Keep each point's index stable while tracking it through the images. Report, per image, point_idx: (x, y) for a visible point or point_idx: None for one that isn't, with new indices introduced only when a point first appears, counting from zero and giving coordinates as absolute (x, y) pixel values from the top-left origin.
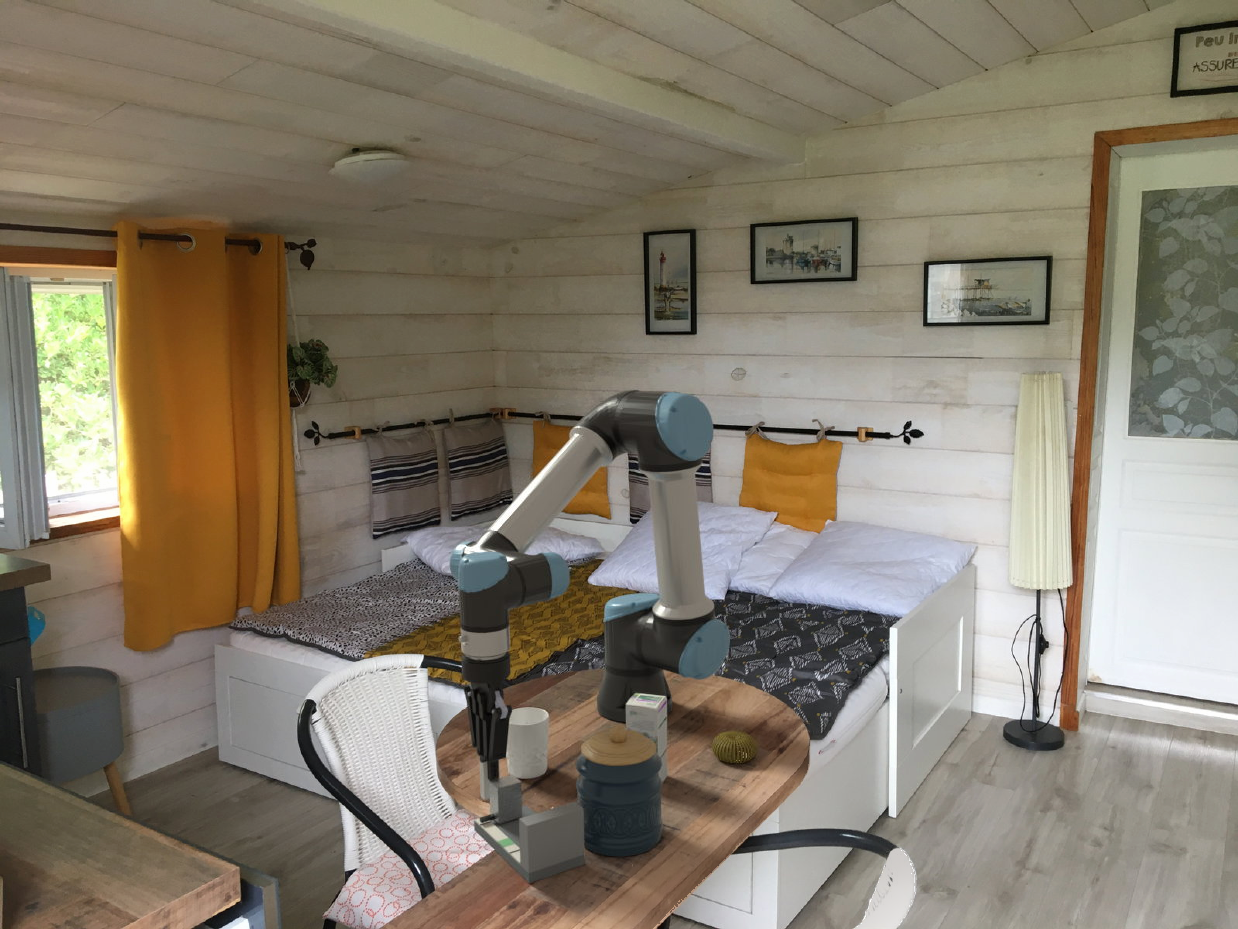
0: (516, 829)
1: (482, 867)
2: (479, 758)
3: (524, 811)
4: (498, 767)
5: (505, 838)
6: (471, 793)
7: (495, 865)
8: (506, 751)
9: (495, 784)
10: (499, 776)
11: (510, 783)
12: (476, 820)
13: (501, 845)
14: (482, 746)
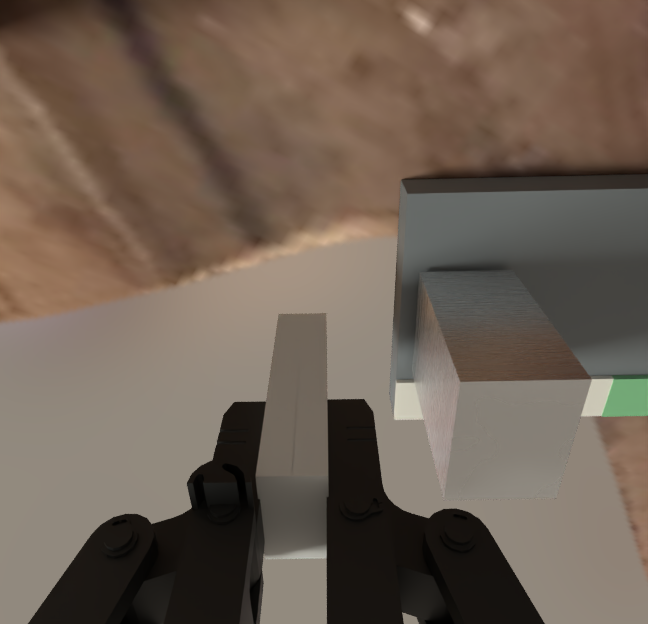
0: (571, 324)
1: (617, 449)
2: (268, 554)
3: (457, 228)
4: (377, 455)
5: (606, 388)
6: (80, 297)
7: (641, 419)
8: (515, 576)
9: (504, 491)
10: (326, 377)
11: (560, 434)
12: (405, 417)
13: (633, 414)
14: (255, 620)
